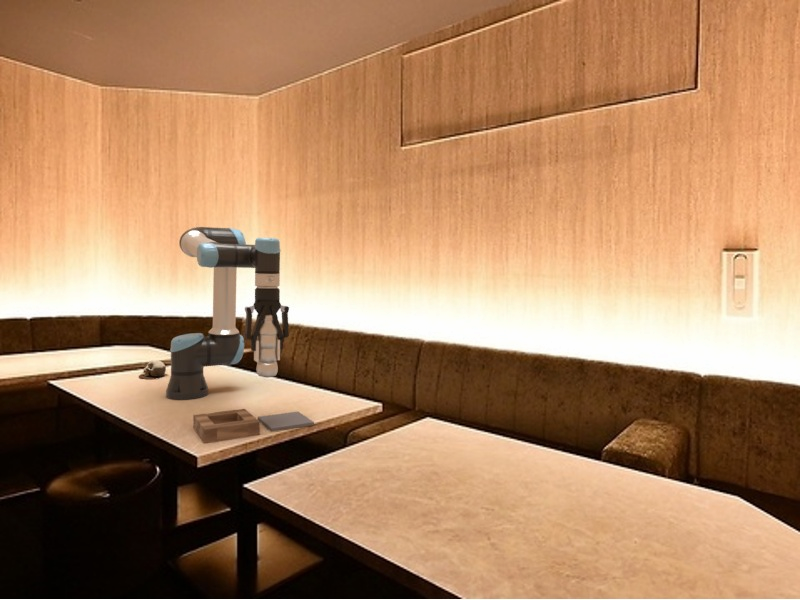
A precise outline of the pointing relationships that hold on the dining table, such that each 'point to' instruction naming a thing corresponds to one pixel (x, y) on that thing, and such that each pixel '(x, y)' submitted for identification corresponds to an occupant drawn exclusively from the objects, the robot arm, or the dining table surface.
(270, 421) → the charcoal mat
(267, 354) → the plastic bottle
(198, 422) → the walnut block
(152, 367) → the skull
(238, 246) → the robot arm
